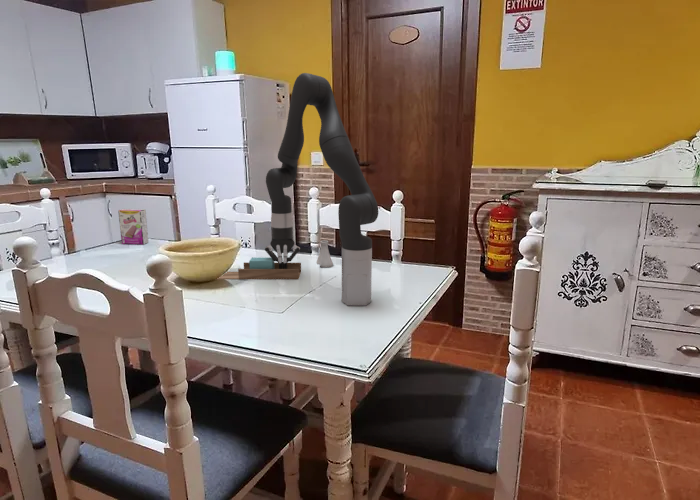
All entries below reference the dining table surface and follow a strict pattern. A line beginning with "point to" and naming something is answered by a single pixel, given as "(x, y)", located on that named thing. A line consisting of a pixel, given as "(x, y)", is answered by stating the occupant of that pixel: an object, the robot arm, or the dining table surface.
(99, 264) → the dining table surface
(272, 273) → the trap channel
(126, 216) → the candy bar box
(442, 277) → the dining table surface
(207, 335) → the dining table surface
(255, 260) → the teal block
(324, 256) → the flask
